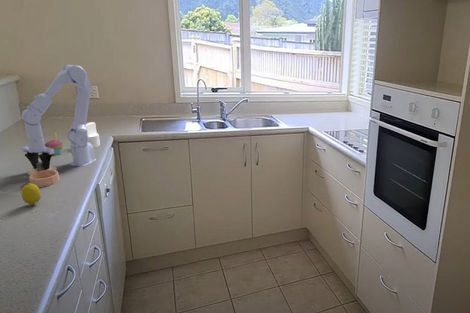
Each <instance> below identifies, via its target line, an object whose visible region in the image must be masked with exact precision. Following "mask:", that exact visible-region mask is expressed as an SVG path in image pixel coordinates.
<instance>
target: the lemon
mask: <svg viewBox="0 0 470 313" xmlns="http://www.w3.org/2000/svg"><path fill="white" fill-rule="evenodd" d="M41 196H42V194H41V190H40V187H37V186H36V185H35V184H30V182H28V183H27V184H25V185H24V186H23V187H22V189H21V198H22V200H23V202H24V203H26V204H28V205H32V206H34V205H35V204H36V203H38V202H39V200H40V199H41Z"/></svg>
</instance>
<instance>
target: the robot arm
mask: <svg viewBox="0 0 470 313" xmlns="http://www.w3.org/2000/svg"><path fill="white" fill-rule="evenodd" d="M68 83H69V84H70V83H73V84H74V85H75V86H76V89H77V92H76V98H75V106H74V108H75V109H74V116H73V122H72V124H71V126H70V129H69V131H68V132H67V139H68V141H69V142H70V144H69V145H70V151H71V156H72V161H73V162H70V163H69V164H68V166H75V167H77V166H78V167H86V166H87V165H89V164H91V163H94V162H95V161H97V158H96V157H95V156H96V155H95V147H94V148H93V146H92V144H91V143H88V141H89V137H88V134H87V132H88V130H87V127H86V124H87V119H88V113H89V112H88V111H89V106H90V97H91V91H92V90H91V89H92V85H91V82H90V80H89V77H88V72H87V71H86V70H85V69H84V68H83V67H82V66H81V65H76V64H66V65H64V67H63V68H62V69H60V70H59V72H58V73H57V75H56V76H55V77H54V79H53V81H51V83H50V84H49V86H48V87H47V88H46V90H45V91H44V92H43V93H39V94H37V95H34V96H33V98H34V100H33V101H32V102H31V103H30V104H29V105H27V106H26V109H24V110H23V111H22V113H21V116H20V118H21V120H22V121H24V127H25V134H26V137H27V143H28V146H27V145H26V146H23V147H21V150H22V153H24V156H25V157H26V159H28V161H29V162H30V164H31V166H32V167H33V168H34V169H36V168H37V166H36V163H38V162H42V164H43V168H44V170H47V169H49V167H50V164H51V160H52V157H53V156H54V155H53V153H54V149H51V148H48V147H45V144H46V142H45V139H44V134H43V129H42V125H41V121H42V115H44V113H45V112H46V111H47V110H48V108H49V107H50V106H51V105H52V103H53V101H52V98H53V97H54V96H55V94H57V92H58V91H59V90H60V89H61V88H62V87H63V86H64V85H65V84H68ZM39 159H40V161H39Z"/></svg>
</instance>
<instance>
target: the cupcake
mask: <svg viewBox="0 0 470 313" xmlns="http://www.w3.org/2000/svg"><path fill="white" fill-rule="evenodd" d="M45 147H48V148H51V149H54V153H53V155H52V156H58V155H61V154H62V149H63V147H64V142H63V141H61V140H58V139H57V130H56V129H55V131H54V139H52V140H49V141H47V142H45Z"/></svg>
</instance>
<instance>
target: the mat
mask: <svg viewBox="0 0 470 313" xmlns="http://www.w3.org/2000/svg"><path fill="white" fill-rule="evenodd" d="M55 167H56V168H57V170H56V171H57V172H59V171H60V170H62V169H64V167H59V166H58V167H57V166H55ZM21 176H23V177H29V175H28V174H27V171H26V172H24V173H22V174H20V177H21Z"/></svg>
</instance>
